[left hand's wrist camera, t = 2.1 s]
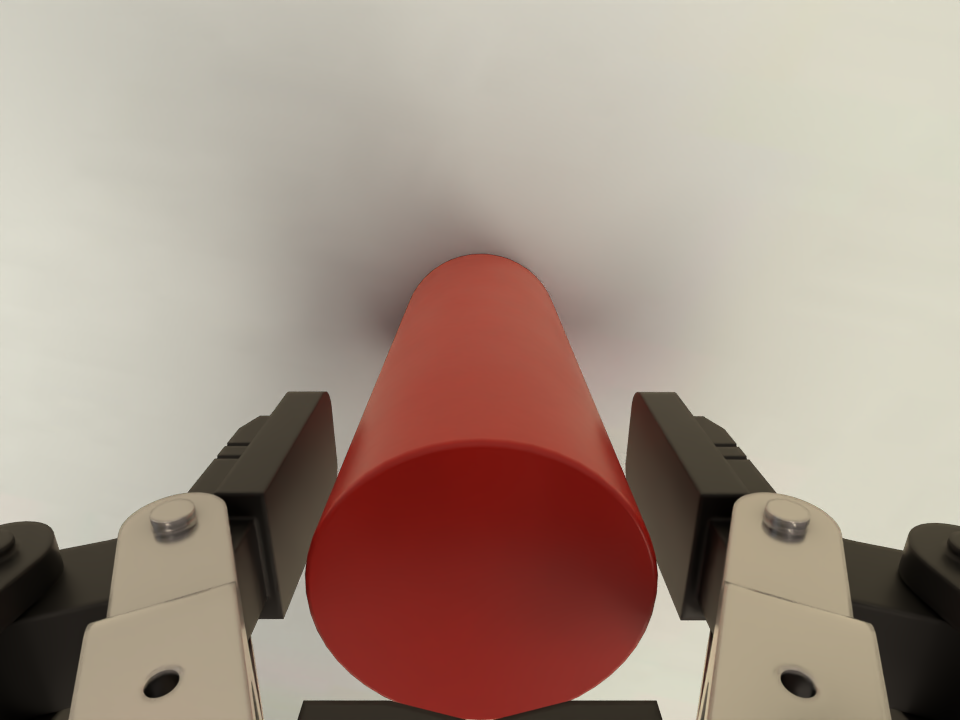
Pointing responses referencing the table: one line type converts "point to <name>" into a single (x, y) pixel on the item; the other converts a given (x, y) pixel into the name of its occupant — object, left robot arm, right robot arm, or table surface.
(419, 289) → the red cylinder
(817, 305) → the table surface
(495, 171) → the table surface
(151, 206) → the table surface
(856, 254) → the table surface
